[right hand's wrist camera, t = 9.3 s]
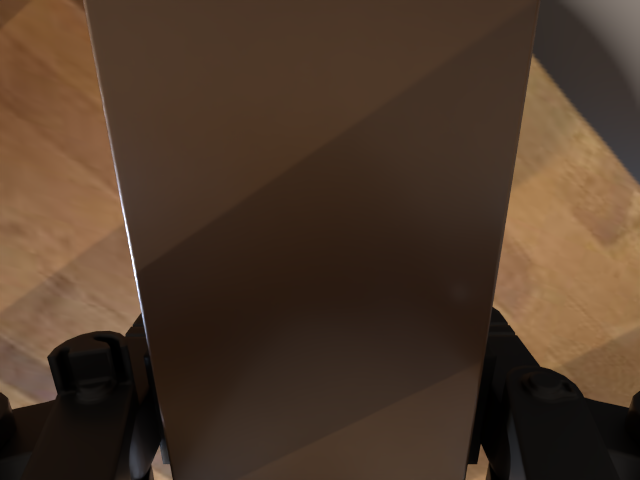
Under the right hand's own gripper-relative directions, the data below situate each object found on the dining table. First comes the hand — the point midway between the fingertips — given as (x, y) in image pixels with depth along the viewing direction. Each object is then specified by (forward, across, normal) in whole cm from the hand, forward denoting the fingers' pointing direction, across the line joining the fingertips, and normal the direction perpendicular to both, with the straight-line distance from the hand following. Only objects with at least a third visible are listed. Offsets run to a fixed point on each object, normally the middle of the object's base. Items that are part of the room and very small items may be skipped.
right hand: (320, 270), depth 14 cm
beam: (+1, 0, -18) cm, 18 cm away
